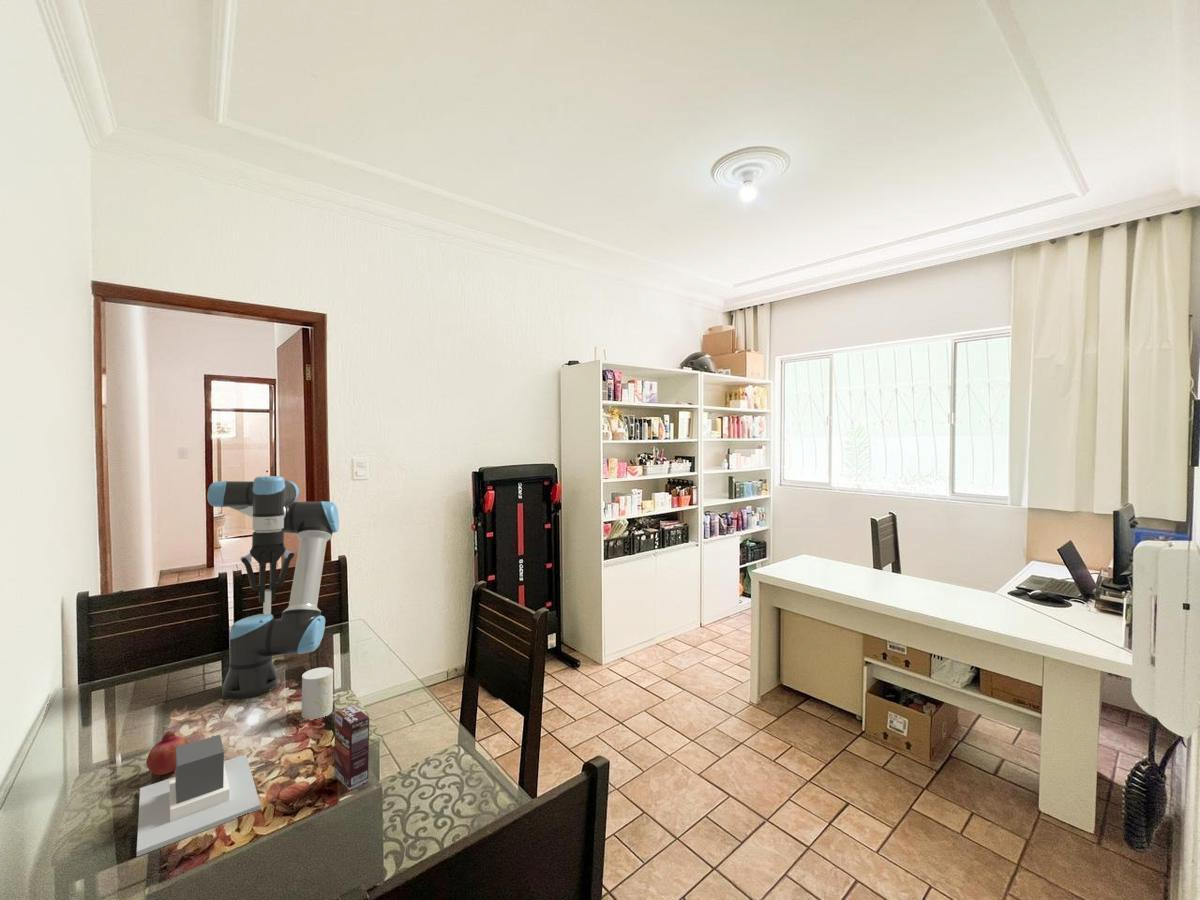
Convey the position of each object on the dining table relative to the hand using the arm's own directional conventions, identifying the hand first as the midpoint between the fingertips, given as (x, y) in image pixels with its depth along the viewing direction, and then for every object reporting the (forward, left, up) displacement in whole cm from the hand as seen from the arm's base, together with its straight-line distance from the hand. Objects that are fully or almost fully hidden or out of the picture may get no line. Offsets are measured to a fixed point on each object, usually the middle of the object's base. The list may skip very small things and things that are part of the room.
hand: (267, 613), depth 143 cm
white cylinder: (+1, +13, -33) cm, 35 cm away
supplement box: (+40, +12, -33) cm, 53 cm away
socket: (+26, -16, -32) cm, 45 cm away
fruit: (+9, -21, -33) cm, 40 cm away
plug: (+26, -16, -31) cm, 44 cm away
